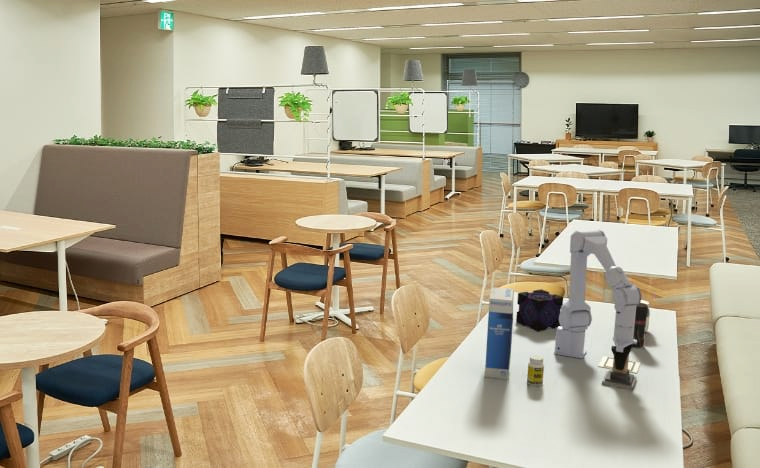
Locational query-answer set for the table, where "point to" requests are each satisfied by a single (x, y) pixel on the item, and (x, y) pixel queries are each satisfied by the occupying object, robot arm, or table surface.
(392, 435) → the table surface
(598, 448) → the table surface
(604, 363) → the marked card
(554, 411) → the table surface
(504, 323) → the string lights box
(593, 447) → the table surface
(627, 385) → the ink pad
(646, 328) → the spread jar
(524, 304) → the energy cube
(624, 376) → the stamp
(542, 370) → the supplement bottle
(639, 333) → the deodorant
